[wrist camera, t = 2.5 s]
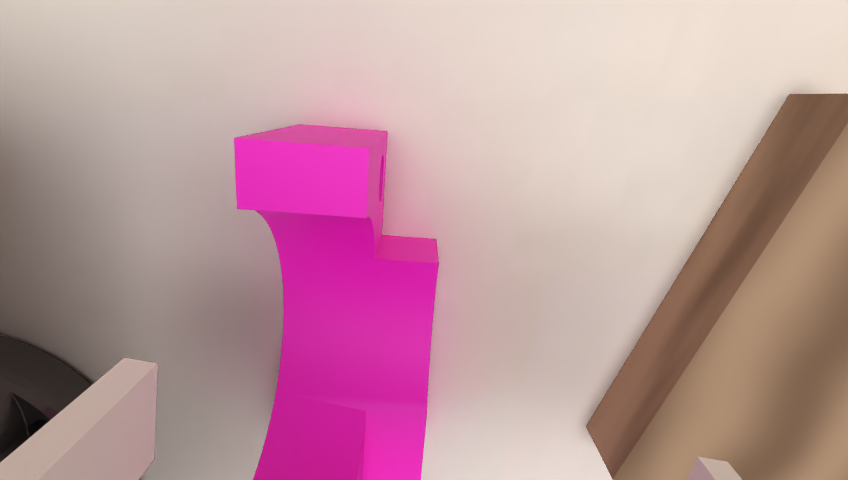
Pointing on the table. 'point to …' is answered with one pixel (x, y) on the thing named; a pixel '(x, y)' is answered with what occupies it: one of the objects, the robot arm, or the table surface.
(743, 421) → the walnut base block
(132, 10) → the table surface
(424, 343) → the toy block
